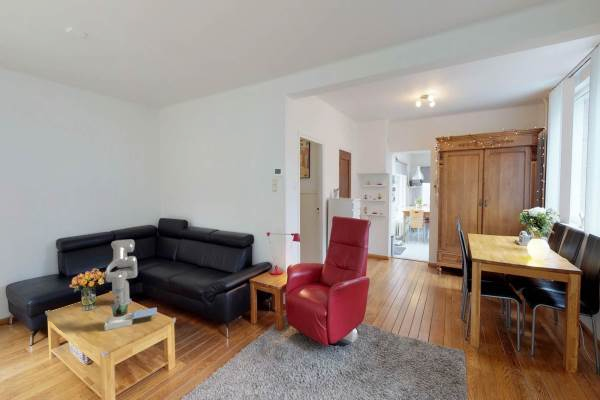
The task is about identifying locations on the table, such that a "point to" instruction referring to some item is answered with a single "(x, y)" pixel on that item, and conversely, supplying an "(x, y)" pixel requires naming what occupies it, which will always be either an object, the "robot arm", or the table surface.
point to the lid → (144, 313)
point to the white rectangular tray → (118, 322)
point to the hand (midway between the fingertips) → (119, 312)
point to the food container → (123, 309)
